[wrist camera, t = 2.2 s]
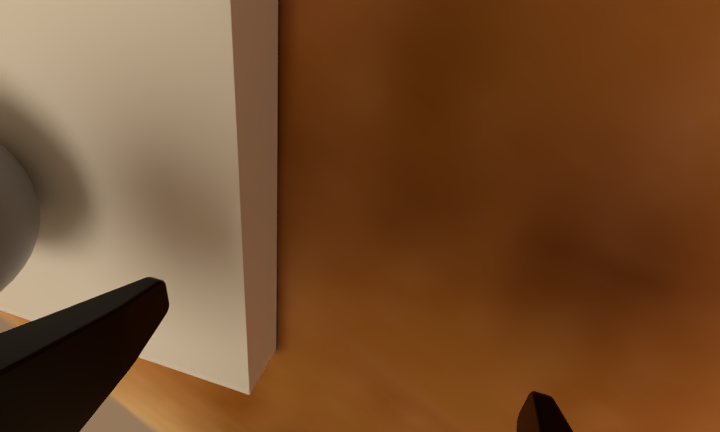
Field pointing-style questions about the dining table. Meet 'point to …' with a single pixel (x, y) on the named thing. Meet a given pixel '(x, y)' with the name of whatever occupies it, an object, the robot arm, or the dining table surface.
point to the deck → (151, 167)
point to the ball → (16, 217)
